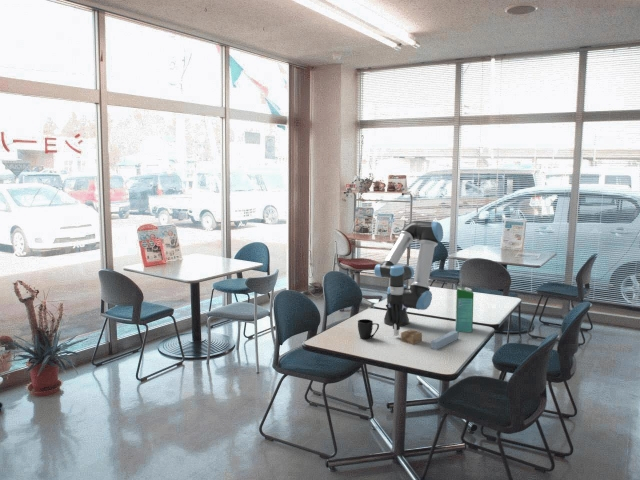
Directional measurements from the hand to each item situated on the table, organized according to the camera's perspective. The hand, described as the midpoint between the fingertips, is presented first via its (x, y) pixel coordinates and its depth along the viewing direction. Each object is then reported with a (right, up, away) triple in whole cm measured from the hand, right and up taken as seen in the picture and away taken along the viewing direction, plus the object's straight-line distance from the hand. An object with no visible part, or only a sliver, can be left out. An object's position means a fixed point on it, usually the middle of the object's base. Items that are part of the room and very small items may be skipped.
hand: (396, 335), depth 301 cm
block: (+7, -2, -6) cm, 10 cm away
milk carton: (+41, 0, +14) cm, 44 cm away
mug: (-16, -2, -1) cm, 16 cm away
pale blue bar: (+25, -3, -11) cm, 27 cm away
